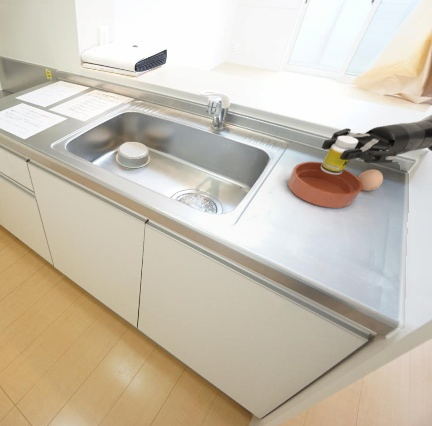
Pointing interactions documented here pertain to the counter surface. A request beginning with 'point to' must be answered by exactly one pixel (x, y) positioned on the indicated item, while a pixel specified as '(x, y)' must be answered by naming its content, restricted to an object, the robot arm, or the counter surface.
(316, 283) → the counter surface
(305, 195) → the bowl
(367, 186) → the egg
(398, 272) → the counter surface
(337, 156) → the supplement bottle
